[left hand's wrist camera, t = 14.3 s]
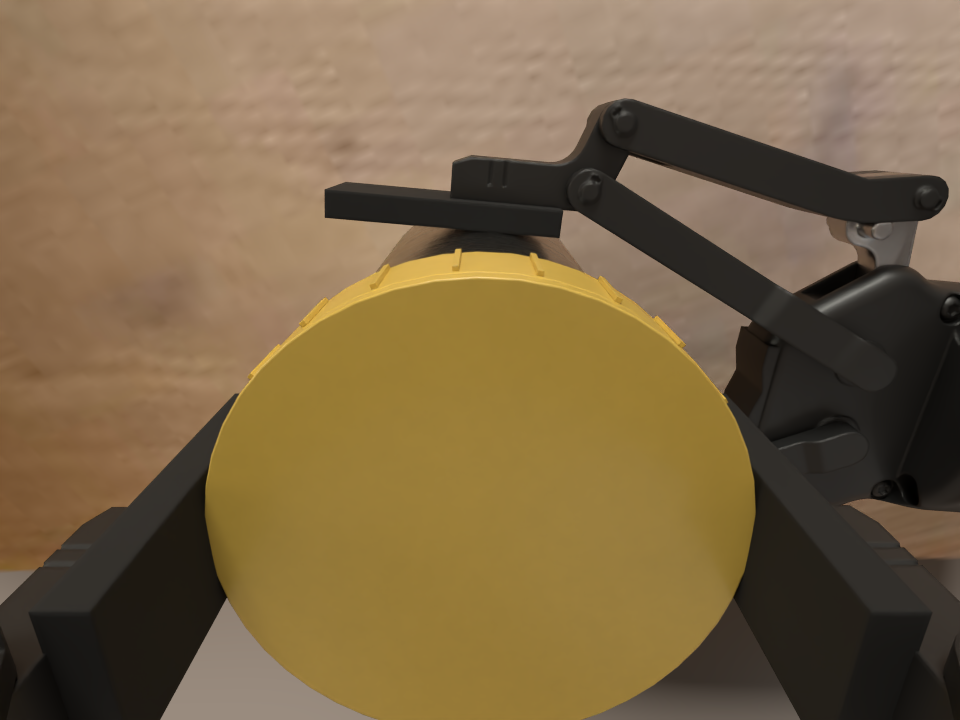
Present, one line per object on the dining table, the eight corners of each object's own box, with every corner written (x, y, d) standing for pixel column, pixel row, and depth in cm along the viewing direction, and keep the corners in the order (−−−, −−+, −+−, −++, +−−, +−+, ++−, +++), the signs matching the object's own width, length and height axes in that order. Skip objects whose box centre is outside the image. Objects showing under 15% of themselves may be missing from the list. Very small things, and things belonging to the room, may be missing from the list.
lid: (750, 243, 11) (811, 268, 9) (687, 655, 14) (720, 737, 12) (207, 249, 11) (146, 275, 9) (279, 659, 14) (247, 741, 12)
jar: (565, 401, 27) (660, 696, 13) (377, 387, 27) (262, 672, 13) (593, 210, 24) (759, 320, 10) (382, 192, 24) (237, 278, 9)
